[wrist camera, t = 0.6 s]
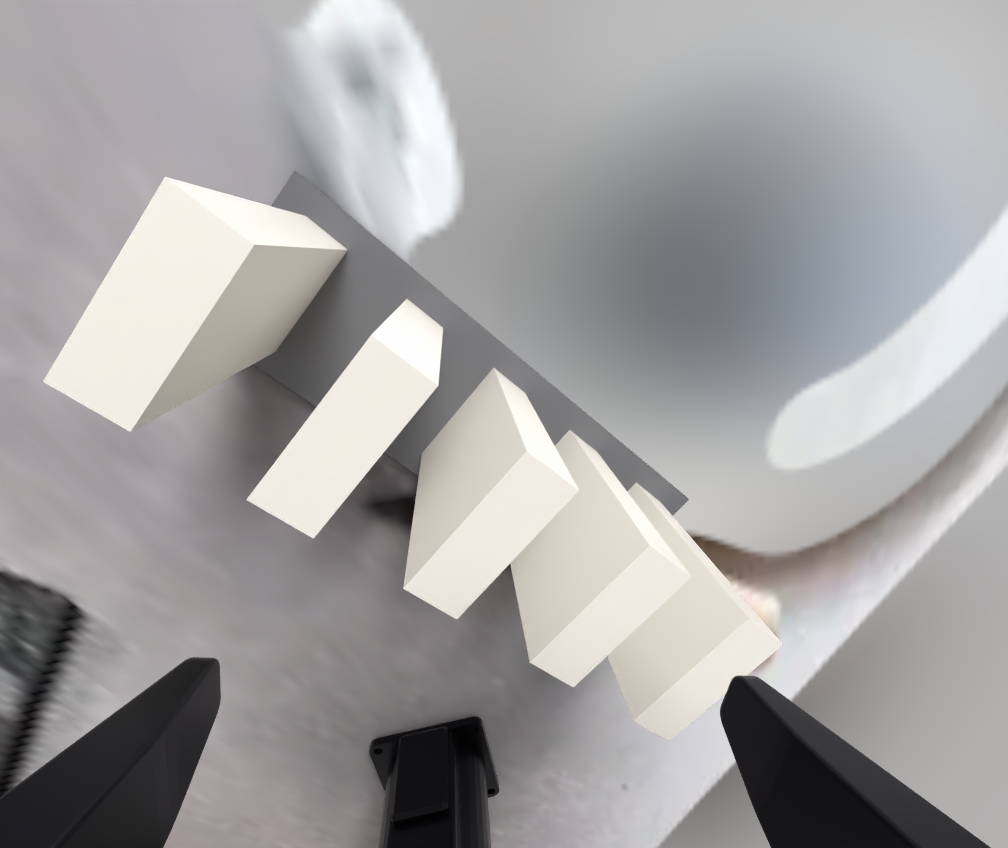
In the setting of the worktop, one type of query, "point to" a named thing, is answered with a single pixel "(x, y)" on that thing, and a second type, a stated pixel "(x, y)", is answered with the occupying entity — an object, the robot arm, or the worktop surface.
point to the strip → (464, 354)
